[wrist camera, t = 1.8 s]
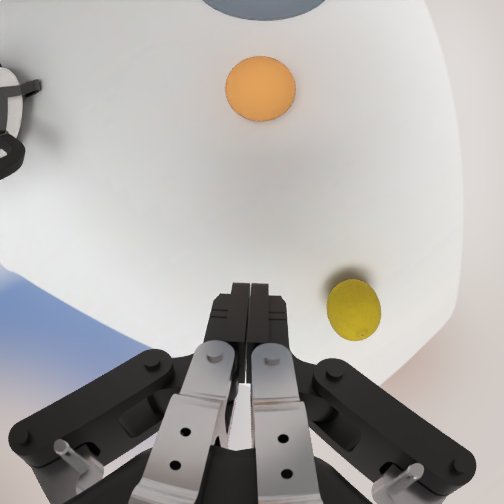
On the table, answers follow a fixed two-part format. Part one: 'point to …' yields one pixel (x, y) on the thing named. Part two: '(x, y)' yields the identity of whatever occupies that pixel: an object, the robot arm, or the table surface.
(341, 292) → the lemon
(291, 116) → the table surface
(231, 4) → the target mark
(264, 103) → the ball
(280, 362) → the robot arm
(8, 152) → the coffee press
